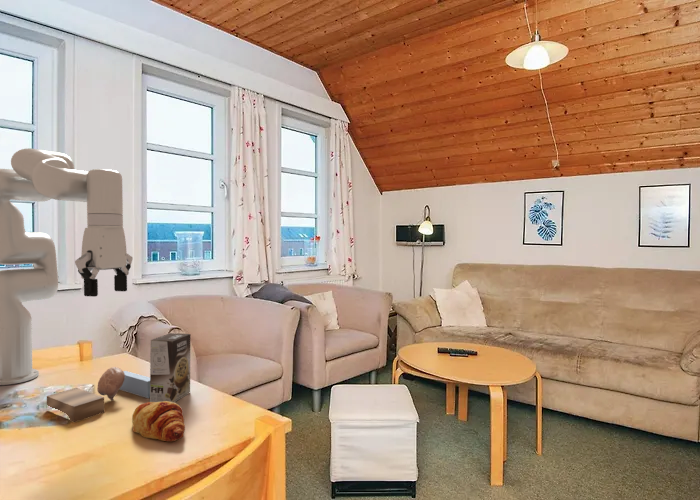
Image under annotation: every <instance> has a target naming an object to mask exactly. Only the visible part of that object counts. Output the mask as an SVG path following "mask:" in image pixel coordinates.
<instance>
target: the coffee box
mask: <svg viewBox="0 0 700 500" xmlns="http://www.w3.org/2000/svg"><path fill="white" fill-rule="evenodd" d="M149 357H150V359H149V360H150V362H149V363H150V364H149V366H150V367H149V369H150V370H149V372H150V373H149V375H150V376H149V377H150V398H149V402H163V401H169V402H174V403H176V402H177V401H178V400H180V398H181V399H182V398H184V397H185V396H187V395H188V393H189V392H190V393H191V334H190V333H171V332H170V333H167V334H165V335H161V336H159V337H156V338H153V339H150V355H149ZM190 393H189V394H190ZM186 394H187V395H186ZM183 396H184V397H183Z"/></svg>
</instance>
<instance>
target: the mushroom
mask: <svg viewBox="0 0 700 500" xmlns="http://www.w3.org/2000/svg"><path fill="white" fill-rule="evenodd" d="M123 371H124V370H122V369H121V368H119V367H116V366H112V367H110V368H108V369H106V371H104V373H103V374H102V375H100V378H99V380H98V382H97V393H98V395H99V396H107V399H109V400H111V401H114V400H115V399H114V397H116V396H117V393H118V391H119V390H120V387H121V386H122V384H123V382H124V379H125V374H124V372H123Z"/></svg>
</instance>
